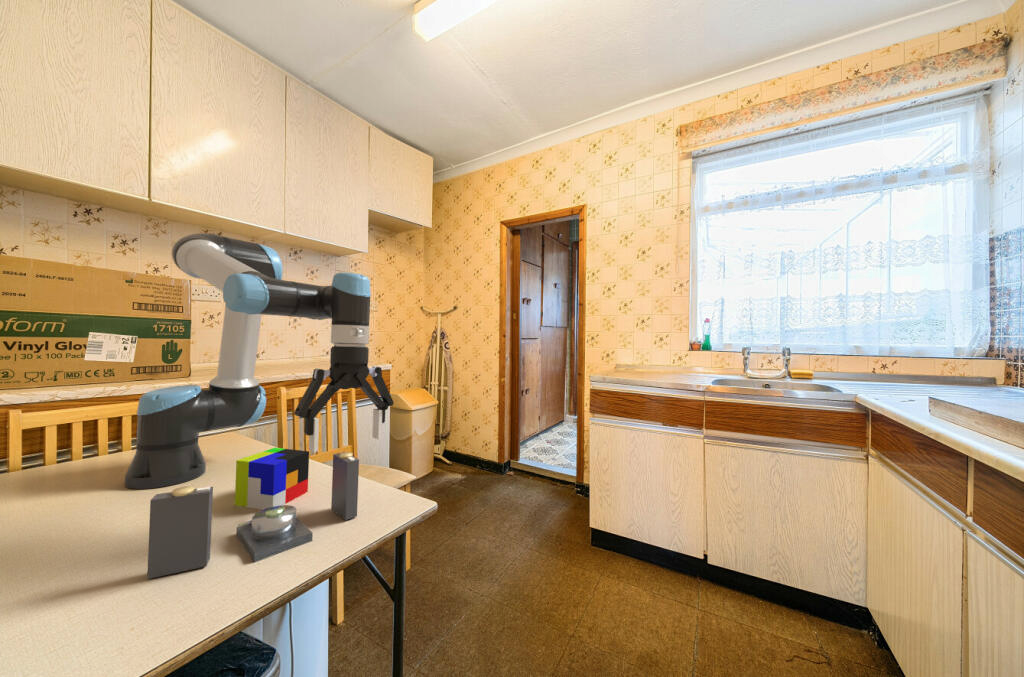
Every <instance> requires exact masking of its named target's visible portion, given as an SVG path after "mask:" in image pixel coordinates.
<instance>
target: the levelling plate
mask: <svg viewBox="0 0 1024 677" xmlns="http://www.w3.org/2000/svg"><path fill="white" fill-rule="evenodd" d="M297 510H298V509H297V507H295V506H292V505H290V504H289V505H287V504H284V505H281V506H274V507H270V508H267V509H260V511H257V512H256V513H255V514H253V516H252V517H251V520H249V521H247V522H243V523H242V522H241V523H240V524H238V525H237V526H236V533H235V534H236V537H237V538H238V540H239V541H240V543H241V544H242V546H243V547H244V549H245V550H246V553H248V555H249V557H250V559H252V561H253V562H254V563H256V562H258V561H261V560H264V559H267V558H269V557H273V556H275V555H277V554H281V553H283V552H286V551H288V550H291V549H294V548H296V547H300V546H301V545H305V544H307V543H309V542H313V532H312V531H311V530H310V529H309V528H308V527H307V526H306V525H305V524H304V523H303V522H302V521H301V520H300V519H299V518H298V517H297Z"/></svg>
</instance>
